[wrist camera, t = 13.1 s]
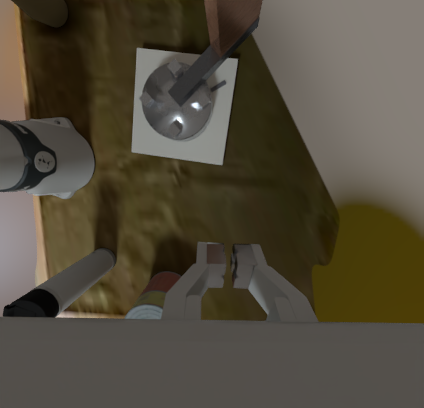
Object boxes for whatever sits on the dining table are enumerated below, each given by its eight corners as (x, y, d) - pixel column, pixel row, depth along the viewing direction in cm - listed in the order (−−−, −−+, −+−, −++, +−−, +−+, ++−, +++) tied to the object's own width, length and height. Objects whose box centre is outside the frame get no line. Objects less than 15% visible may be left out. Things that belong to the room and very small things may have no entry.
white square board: (136, 152, 43) (130, 151, 40) (142, 54, 39) (136, 47, 36) (222, 165, 42) (222, 165, 39) (237, 65, 38) (238, 58, 35)
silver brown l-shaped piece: (180, 154, 40) (112, 136, 16) (137, 107, 38) (0, 15, 15) (272, 64, 35) (358, -138, 12) (226, 7, 34) (223, -340, 11)
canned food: (186, 313, 50) (173, 358, 38) (145, 304, 50) (120, 345, 39) (193, 276, 48) (182, 312, 36) (151, 267, 48) (126, 298, 36)
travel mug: (95, 243, 48) (4, 295, 28) (118, 252, 48) (43, 310, 28) (90, 264, 49) (-1, 327, 30) (113, 273, 49) (37, 342, 30)
